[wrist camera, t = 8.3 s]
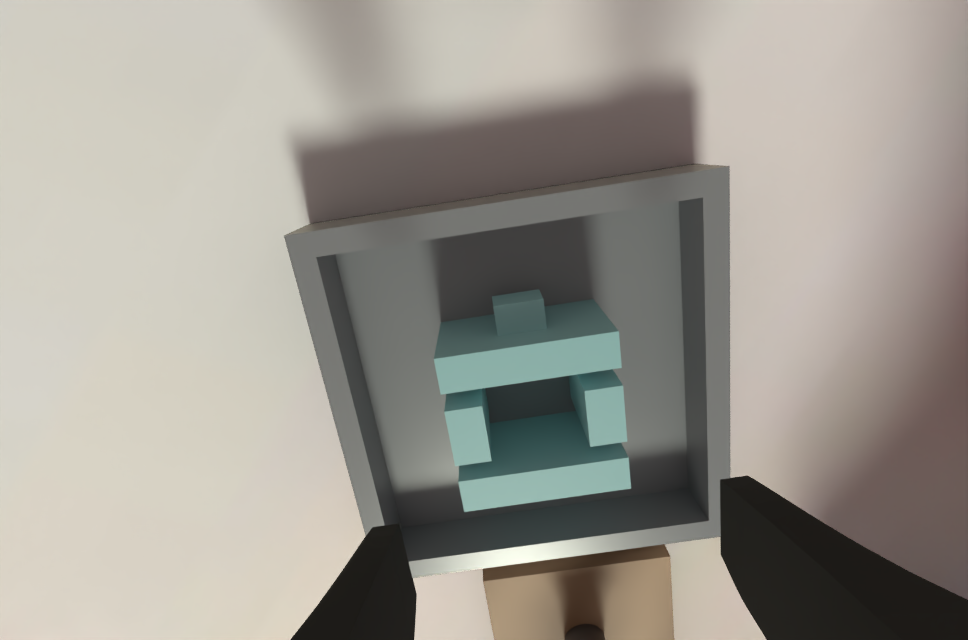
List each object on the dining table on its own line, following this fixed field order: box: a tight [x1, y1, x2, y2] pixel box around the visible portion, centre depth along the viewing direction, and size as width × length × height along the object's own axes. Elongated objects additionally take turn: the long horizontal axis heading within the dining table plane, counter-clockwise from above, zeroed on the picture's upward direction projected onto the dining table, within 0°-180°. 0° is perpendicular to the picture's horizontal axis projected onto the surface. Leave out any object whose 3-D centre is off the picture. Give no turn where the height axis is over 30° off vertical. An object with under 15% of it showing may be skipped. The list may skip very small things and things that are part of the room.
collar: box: [434, 289, 631, 512], centre depth 18 cm, size 6×7×4 cm
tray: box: [284, 164, 730, 578], centre depth 19 cm, size 14×14×3 cm
